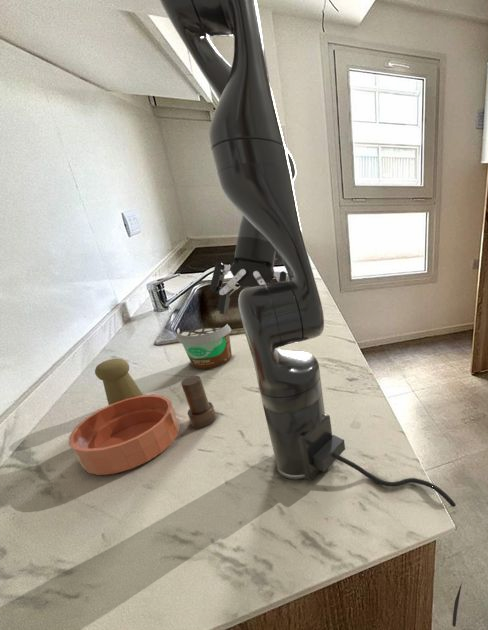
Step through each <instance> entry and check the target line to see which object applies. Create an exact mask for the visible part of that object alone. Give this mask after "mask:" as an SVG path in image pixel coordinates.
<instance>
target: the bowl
mask: <svg viewBox="0 0 488 630" xmlns="http://www.w3.org/2000/svg"><path fill="white" fill-rule="evenodd" d="M180 429H181V425H180V422H179V419H178V417H177V414H176V412H175V409H174V406H173V404H172V401H171V399H169V398H167V397H166V396H164V395H159V394H143V395H141V396H137V397H132V398H127V399H124V400H121V401H119V402H116V403H113V404H111V405H109V404H108V405H107V406H104V407H102V408H99V409H98V410H96V411H95V412H93V413H91V414H90V415H88V416H86V417H85V418H83V419H82V421H81V422H79V423H78V424H77V425H76V426H75V427H74V428H73V430H72V431H71V433H70V434H69V436H68V446H69V447H70V449H71V450H72V453H73V454H74V456H75V458H76V459H77V461H78V463H79V464H80V466H81V468H82V469H83V470H84V471H85V472H86V473H88V474H92V475H97V476H103V475H115V474H118V473H122V472H125V471H130V470H131V469H134V468H136V467H138V466H141V465H143V464H145V463H147V462H149V461H151V460H152V459H153V458H155V457H158V455H160V454H161V453H163V452H164V451H165V450H166V449H167V448H168V447H170V446H171V445H172V444H173V443H174V441H175V440H176V438H177V437H178V435H179V433H180Z"/></svg>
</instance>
